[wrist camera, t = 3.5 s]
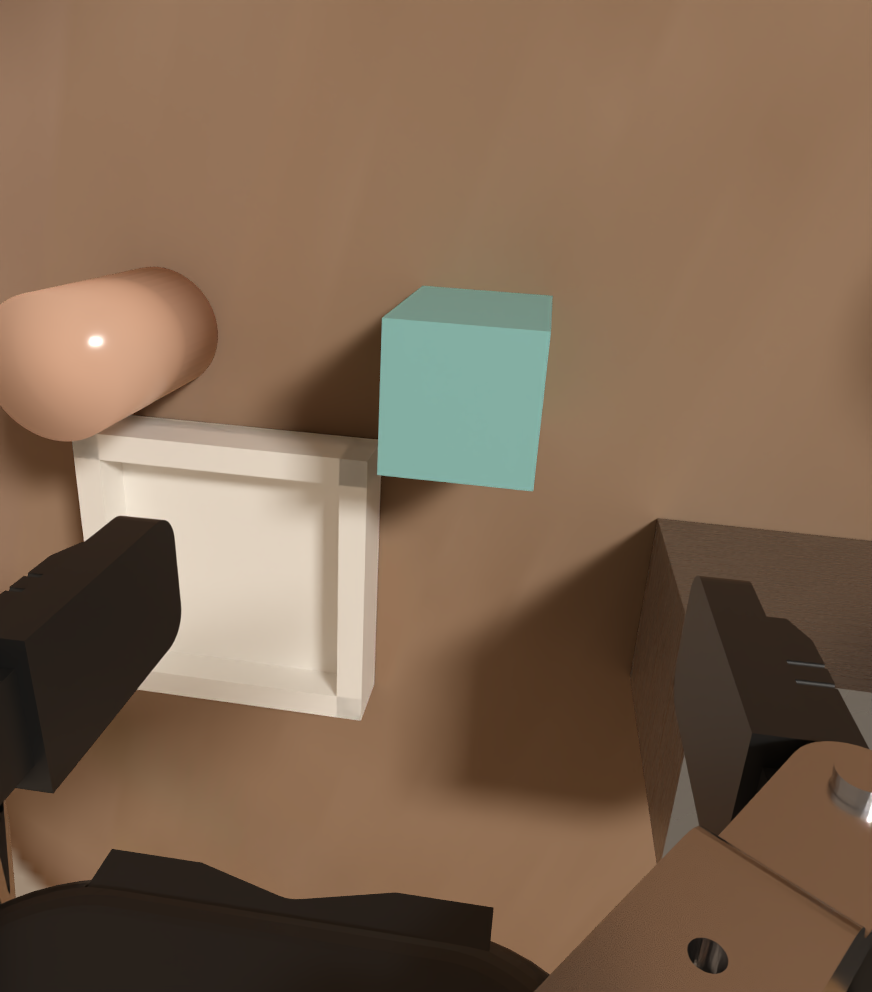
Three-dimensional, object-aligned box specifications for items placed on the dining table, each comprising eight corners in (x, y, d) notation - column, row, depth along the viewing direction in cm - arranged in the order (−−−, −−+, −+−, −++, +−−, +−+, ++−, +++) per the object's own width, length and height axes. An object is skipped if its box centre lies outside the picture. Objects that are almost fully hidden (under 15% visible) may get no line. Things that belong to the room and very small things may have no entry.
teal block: (422, 285, 28) (381, 317, 21) (552, 295, 27) (551, 331, 21) (416, 410, 30) (377, 474, 23) (538, 422, 29) (533, 491, 23)
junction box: (657, 518, 30) (707, 689, 20) (883, 542, 29) (1055, 734, 19) (628, 684, 32) (659, 908, 23) (833, 711, 32) (960, 956, 22)
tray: (106, 412, 31) (70, 431, 29) (382, 439, 30) (367, 461, 28) (131, 651, 35) (101, 684, 33) (374, 684, 34) (360, 720, 32)
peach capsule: (99, 262, 29) (-31, 286, 23) (214, 271, 29) (115, 298, 22) (111, 380, 31) (-8, 434, 24) (220, 390, 30) (129, 448, 24)
